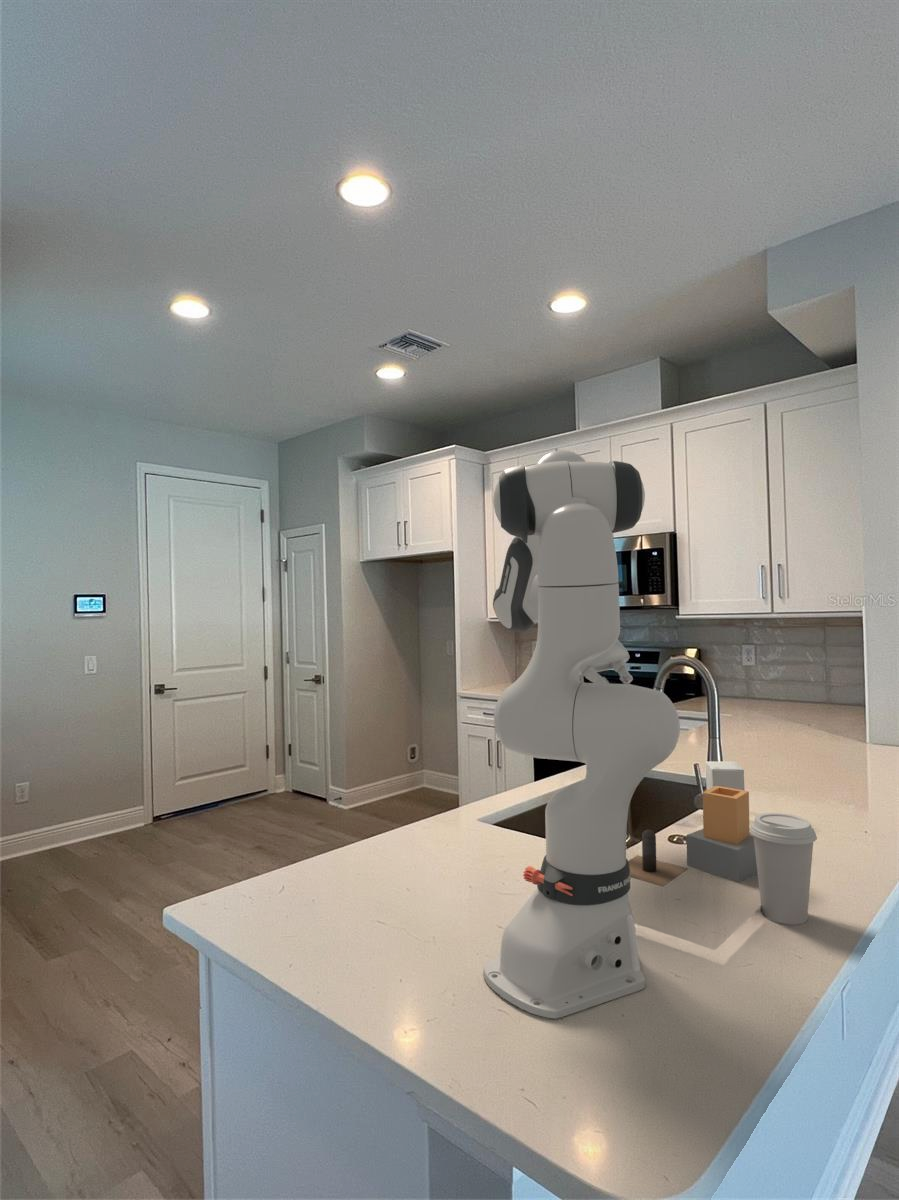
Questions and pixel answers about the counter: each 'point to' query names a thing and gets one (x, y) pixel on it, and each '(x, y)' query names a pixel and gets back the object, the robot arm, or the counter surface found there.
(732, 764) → the skincare box
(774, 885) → the coffee cup
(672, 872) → the stand
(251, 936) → the counter surface
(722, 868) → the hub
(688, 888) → the counter surface
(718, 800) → the sleeve
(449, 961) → the counter surface
